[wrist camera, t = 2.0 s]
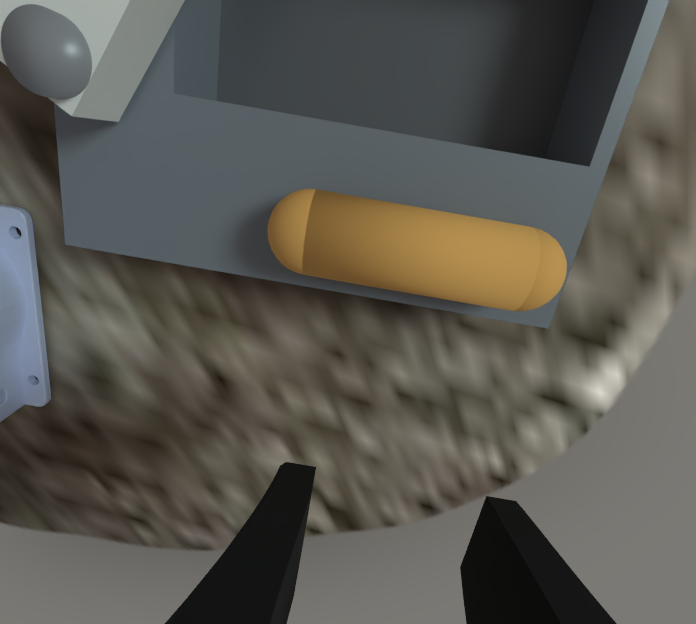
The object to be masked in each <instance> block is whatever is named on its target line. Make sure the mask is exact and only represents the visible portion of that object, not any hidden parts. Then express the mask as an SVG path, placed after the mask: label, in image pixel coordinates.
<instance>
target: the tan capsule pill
mask: <svg viewBox="0 0 696 624" xmlns="http://www.w3.org/2000/svg"><path fill="white" fill-rule="evenodd" d="M268 241H269V244H270V247H271V250H272V251H273V253H274V255H275V257H276V258H277V259H278V260H279V261H280V263H281V264H283V265H284V266H285V267H286V268H288V269H290V270H292V271H294V272H296V273H299V274H303V275H307V276H313V277H319V278H325V279H330V280H336V281H342V282H348V283H353V284H359V285H365V286H371V287H377V288H382V289H388V290H394V291H400V292H405V293H411V294H417V295H423V296H428V297H434V298H440V299H446V300H451V301H457V302H463V303H469V304H474V305H480V306H486V307H492V308H497V309H503V310H509V311H520V312H521V311H529V310H533V309H536V308H539V307H541V306H543V305H544V304H546V303H548V302H549V301H550V300H551V299H552V298H553V297H554V296H556V294H557V293H558V292H559V291H560V289H561V287H562V285H563V283H564V281H565V278H566V272H567V262H566V257H565V254H564V251H563V249H562V248H561V246H560V245H559V243H558V242H557V240H555V239H554V238H553V237H552V236H551V235H549V234H548V233H546V232H544V231H543V230H541V229H537V228H533V227H529V226H524V225H518V224H512V223H506V222H501V221H495V220H489V219H484V218H478V217H472V216H466V215H461V214H455V213H449V212H444V211H438V210H432V209H426V208H421V207H415V206H409V205H404V204H398V203H392V202H386V201H381V200H375V199H369V198H364V197H358V196H352V195H346V194H341V193H335V192H329V191H324V190H318V189H303V190H298V191H295V192H292V193H290V194H289V195H287V196H285V197H284V198H283V199H282V200H281V201H280V202H279V203H278V204H277V205H276V207H275V208H274V210H273V211H272V213H271V216H270V219H269V222H268Z"/></svg>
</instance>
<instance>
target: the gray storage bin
mask: <svg viewBox="0 0 696 624" xmlns="http://www.w3.org/2000/svg"><path fill="white" fill-rule="evenodd" d="M668 2H669V0H185V1H184V3H183V5H182V7H181V8H180V10H179V12H178V14H177V16H176V17H175V19H174V21H173V23H172V25H171V27H170V28H169V30H168V32H167V34H166V36H165V38H164V39H163V41H162V43H161V45H160V47H159V49H158V50H157V52H156V54H155V56H154V58H153V60H152V61H151V63H150V65H149V67H148V69H147V71H146V72H145V74H144V76H143V78H142V80H141V81H140V83H139V85H138V87H137V89H136V91H135V92H134V94H133V96H132V98H131V100H130V102H129V103H128V105H127V107H126V109H125V111H124V113H123V114H122V116H121V118H120V120H119V122H115V121H106V120H98V119H90V118H82V117H73V116H71V115H69V114H68V113H67V112H66V111H64V110H63V109H62V108H60V107H59V106H58V105H57V104H55V103H54V113H55V126H56V138H57V150H58V162H59V175H60V187H61V199H62V211H63V224H64V236H65V245H69V246H75V247H81V248H87V249H92V250H98V251H104V252H110V253H115V254H121V255H127V256H133V257H139V258H144V259H150V260H156V261H162V262H167V263H173V264H179V265H185V266H190V267H196V268H202V269H208V270H213V271H219V272H225V273H231V274H237V275H242V276H248V277H254V278H260V279H265V280H271V281H277V282H283V283H288V284H294V285H300V286H306V287H312V288H317V289H323V290H329V291H335V292H340V293H346V294H352V295H358V296H363V297H369V298H375V299H381V300H387V301H392V302H398V303H404V304H410V305H415V306H421V307H427V308H433V309H438V310H444V311H450V312H456V313H461V314H467V315H473V316H479V317H485V318H490V319H496V320H502V321H508V322H513V323H519V324H525V325H531V326H536V327H542V328H548V329H549V326H550V323H551V320H552V318H553V315H554V312H555V310H556V307H557V304H558V301H559V299H560V296H561V293H562V291H563V288H564V285H565V282H566V280H567V277H568V274H569V271H570V269H571V266H572V263H573V261H574V258H575V255H576V252H577V250H578V247H579V244H580V242H581V239H582V236H583V233H584V231H585V228H586V225H587V222H588V220H589V217H590V214H591V212H592V209H593V206H594V203H595V201H596V198H597V195H598V193H599V190H600V187H601V184H602V182H603V179H604V176H605V173H606V171H607V168H608V165H609V163H610V160H611V157H612V154H613V152H614V149H615V146H616V144H617V141H618V138H619V135H620V133H621V130H622V127H623V124H624V122H625V119H626V116H627V114H628V111H629V108H630V105H631V103H632V100H633V97H634V95H635V92H636V89H637V86H638V84H639V81H640V78H641V76H642V73H643V70H644V67H645V65H646V62H647V59H648V56H649V54H650V51H651V48H652V46H653V43H654V40H655V37H656V35H657V32H658V29H659V27H660V24H661V21H662V18H663V16H664V13H665V10H666V7H667V5H668ZM303 189H318V190H324V191H329V192H335V193H341V194H346V195H352V196H358V197H364V198H369V199H375V200H381V201H386V202H392V203H398V204H404V205H409V206H415V207H421V208H426V209H432V210H438V211H444V212H449V213H455V214H461V215H466V216H472V217H478V218H484V219H489V220H495V221H501V222H506V223H512V224H518V225H524V226H529V227H533V228H537V229H541V230H543V231H544V232H546V233H548V234H549V235H551V236H552V237H553V238H554V239H555V240H557V242H558V243H559V245H560V246H561V248H562V249H563V251H564V254H565V257H566V262H567V272H566V278H565V281H564V283H563V285H562V287H561V289H560V291H559V292H558V293H557V294H556V296H554V297H553V298H552V299H551V300H550V301H549V302H548V303H546V304H544V305H543V306H541V307H539V308H536V309H533V310H529V311H521V312H520V311H509V310H503V309H497V308H492V307H486V306H480V305H474V304H469V303H463V302H457V301H451V300H446V299H440V298H434V297H428V296H423V295H417V294H411V293H405V292H400V291H394V290H388V289H382V288H377V287H371V286H365V285H359V284H353V283H348V282H342V281H336V280H330V279H325V278H319V277H313V276H307V275H303V274H299V273H296V272H294V271H292V270H290V269H288V268H286V267H285V266H284V265H283V264H281V263H280V261H279V260H278V259H277V258H276V257H275V255H274V253H273V251H272V250H271V247H270V244H269V241H268V222H269V219H270V216H271V213H272V211H273V210H274V208H275V207H276V205H277V204H278V203H279V202H280V201H281V200H282V199H283V198H284V197H285V196H287V195H289V194H290V193H292V192H295V191H298V190H303Z"/></svg>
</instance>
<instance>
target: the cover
mask: <svg viewBox="0 0 696 624" xmlns="http://www.w3.org/2000/svg"><path fill="white" fill-rule="evenodd" d="M184 1H185V0H0V61H1V62H2V63H4V64H5V65H6V66H8V68H9V70H10V71H11V73H12V75H13V76H14V77H15V78H16V80H17V81H18V82H19V83H20V84H21V85H22V86H24V87H25V88H26V89H28V90H29V91H31V92H33V93H34V94H37V95H40V96H43V97H47V98H49V99H50V100H51V101H53V102H54V103H55V104H57V105H58V106H59V107H60V108H62V109H63V110H64V111H66V112H67V113H68V114H69V115H71V116H73V117H82V118H90V119H98V120H106V121H115V122H119V120H120V118H121V116H122V114H123V113H124V111H125V109H126V107H127V105H128V103H129V102H130V100H131V98H132V96H133V94H134V92H135V91H136V89H137V87H138V85H139V83H140V81H141V80H142V78H143V76H144V74H145V72H146V71H147V69H148V67H149V65H150V63H151V61H152V60H153V58H154V56H155V54H156V52H157V50H158V49H159V47H160V45H161V43H162V41H163V39H164V38H165V36H166V34H167V32H168V30H169V28H170V27H171V25H172V23H173V21H174V19H175V17H176V16H177V14H178V12H179V10H180V8H181V7H182V5H183V3H184Z"/></svg>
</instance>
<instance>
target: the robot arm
mask: <svg viewBox="0 0 696 624" xmlns="http://www.w3.org/2000/svg"><path fill="white" fill-rule="evenodd" d="M16 228H18V229H19V230H20V231H21V234H22V235H21V236H20V235H19V234H18V233H17V231H16ZM35 376H36V377H37V378H38V380H37V379H36V378H35ZM50 400H51V390H50V380H49V371H48V362H47V353H46V343H45V334H44V325H43V315H42V306H41V297H40V288H39V278H38V269H37V260H36V251H35V241H34V232H33V223H32V219H31V216H30V215H29V213H28V212H27V211H26V210H25V209H23V208H20V207H16V206H10V205H4V204H0V422H1V421H3V420H4V419H5V418H7V417H8V416H9V415H11V414H12V413H14V412H15V411H16V410H18V409H19V408H21V407H22V406H23V405H24V404H25V405H31V406H37V407H42V406H44V405H45V404H47V403H48V402H49V401H50ZM315 470H316V467H312V466H307V465H301V464H295V463H289V462H286V463H284V464H282V465H281V466H280V467H279V469H278V472H277V474H276V476H275V477H274V479H273V481H272V483H271V485H270V486H269V488H268V490H267V491H266V493H265V495H264V496H263V498H262V499H261V501H260V502H259V504H258V505H257V507H256V509H255V510H254V512H253V513H252V515H251V516H250V517H249V519H248V520H247V522H246V523H245V524H244V526H243V527H242V529H241V530H240V531H239V533H238V534H237V535H236V537H235V538H234V540H233V541H232V542H231V544H230V545H229V546H228V548H227V549H226V550H225V552H224V553H223V554H222V556H221V557H220V558H219V559H218V561H217V562H216V563H215V564H214V566H213V567H212V568H211V569H210V571H209V572H208V573H207V574H206V575H205V577H204V578H203V579H202V580H201V582H200V583H199V584H198V585H197V587H196V588H195V589H194V590H193V592H192V593H191V594H190V595H189V596H188V598H187V599H186V600H185V601H184V602H183V603H182V605H181V606H180V607H179V608H178V609H177V611H176V612H175V613H174V614H173V615H172V616H171V617H170V618H169V620H168V621H167V622H166V623H165V624H286V623H287V619H288V615H289V612H290V608H291V604H292V600H293V596H294V591H295V585H296V579H297V574H298V569H299V563H300V557H301V552H302V546H303V540H304V534H305V529H306V523H307V517H308V511H309V505H310V499H311V493H312V488H313V482H314V476H315ZM460 569H461V579H462V589H463V598H464V606H465V614H466V622H467V624H616V623H615V621H614V620H613V619H612V618H611V617H610V616H609V614H608V613H607V612H606V611H605V610H604V608H603V607H602V606H601V605H600V604H599V602H598V601H597V600H596V599H595V598H594V596H593V595H592V594H591V593H590V592H589V590H588V589H587V588H586V587H585V586H584V584H583V583H582V582H581V581H580V579H579V578H578V577H577V576H576V575H575V573H574V572H573V571H572V570H571V568H570V567H569V566H568V565H567V563H566V562H565V561H564V560H563V558H562V557H561V556H560V555H559V553H558V552H557V551H556V550H555V549H554V547H553V546H552V545H551V544H550V542H549V541H548V540H547V539H546V537H545V536H544V535H543V534H542V532H541V531H540V530H539V529H538V527H537V526H536V525H535V524H534V522H533V521H532V520H531V519H530V517H529V516H528V515H527V514H526V512H525V511H524V510H523V509H522V508H521V507H520V505H519V504H518V503H517V502H516V501H512V500H506V499H500V498H494V497H488V496H486V499H485V502H484V504H483V507H482V510H481V512H480V516H479V518H478V521H477V523H476V526H475V529H474V532H473V534H472V537H471V540H470V542H469V545H468V548H467V551H466V554H465V556H464V559H463V561H462V564H461V567H460Z"/></svg>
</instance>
